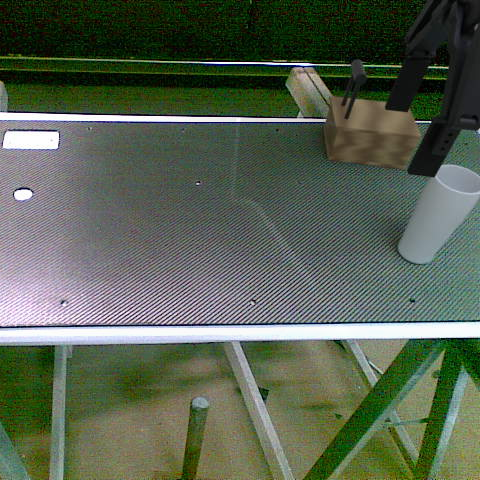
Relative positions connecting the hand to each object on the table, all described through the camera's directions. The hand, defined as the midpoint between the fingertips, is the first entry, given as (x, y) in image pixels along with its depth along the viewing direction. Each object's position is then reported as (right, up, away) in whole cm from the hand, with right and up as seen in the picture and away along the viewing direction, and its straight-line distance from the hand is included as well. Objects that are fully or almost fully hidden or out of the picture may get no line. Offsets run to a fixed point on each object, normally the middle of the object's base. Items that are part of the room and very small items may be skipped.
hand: (407, 139), depth 55 cm
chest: (+12, +7, +41) cm, 43 cm away
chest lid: (+12, +12, +36) cm, 40 cm away
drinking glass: (+11, -14, +20) cm, 27 cm away
